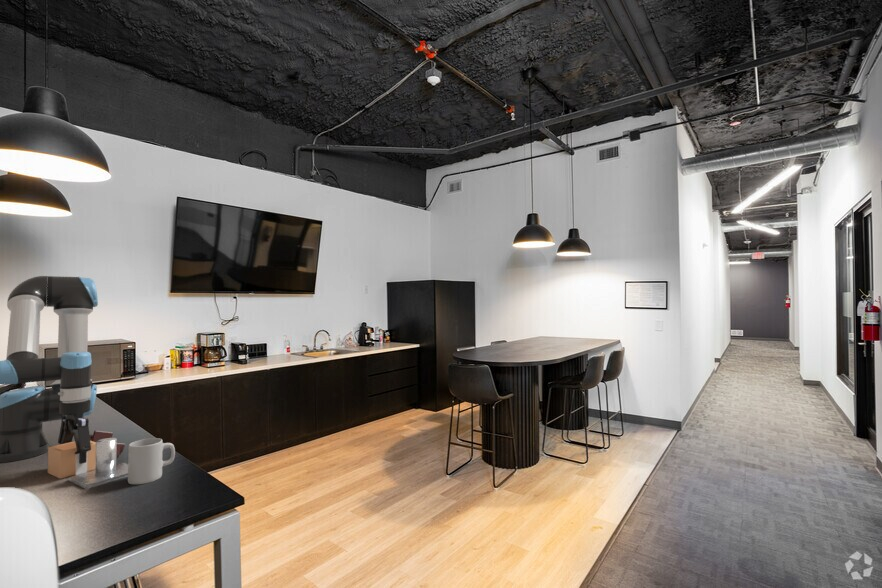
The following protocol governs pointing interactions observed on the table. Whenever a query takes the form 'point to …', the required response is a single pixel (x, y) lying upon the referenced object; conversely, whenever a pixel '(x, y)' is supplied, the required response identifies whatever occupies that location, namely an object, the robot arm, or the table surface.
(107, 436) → the bracket
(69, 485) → the table surface
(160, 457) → the mug
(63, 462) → the tan wooden box
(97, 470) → the duct flange
